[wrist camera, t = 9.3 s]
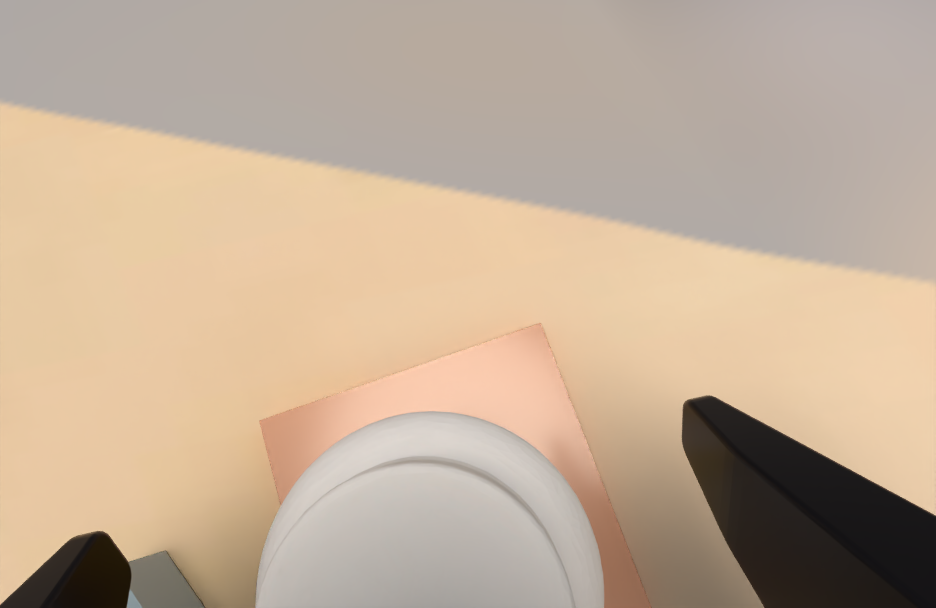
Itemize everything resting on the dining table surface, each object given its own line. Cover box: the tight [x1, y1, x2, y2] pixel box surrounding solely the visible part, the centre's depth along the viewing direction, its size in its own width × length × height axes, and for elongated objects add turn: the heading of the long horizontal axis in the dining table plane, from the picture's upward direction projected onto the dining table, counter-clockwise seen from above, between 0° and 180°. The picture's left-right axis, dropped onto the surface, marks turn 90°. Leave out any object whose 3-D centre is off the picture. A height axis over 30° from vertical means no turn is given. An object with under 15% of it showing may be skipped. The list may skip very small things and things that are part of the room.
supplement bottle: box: [255, 411, 604, 608], centre depth 12 cm, size 6×6×10 cm
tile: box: [259, 323, 651, 608], centre depth 17 cm, size 9×9×1 cm
